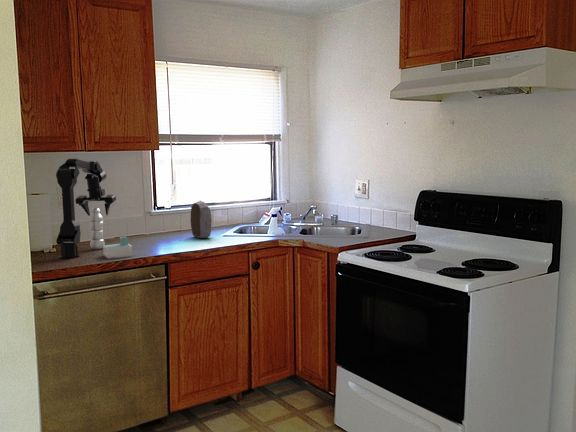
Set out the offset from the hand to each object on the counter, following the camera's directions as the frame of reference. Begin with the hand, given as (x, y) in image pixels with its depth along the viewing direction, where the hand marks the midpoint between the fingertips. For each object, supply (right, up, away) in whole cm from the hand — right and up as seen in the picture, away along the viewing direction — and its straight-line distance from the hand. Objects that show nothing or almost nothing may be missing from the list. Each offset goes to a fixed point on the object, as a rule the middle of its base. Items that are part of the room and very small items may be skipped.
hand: (98, 215), depth 280 cm
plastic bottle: (+4, -17, -11) cm, 20 cm away
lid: (+19, -14, -29) cm, 37 cm away
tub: (+19, -18, -28) cm, 39 cm away
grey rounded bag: (+50, -12, +19) cm, 55 cm away
